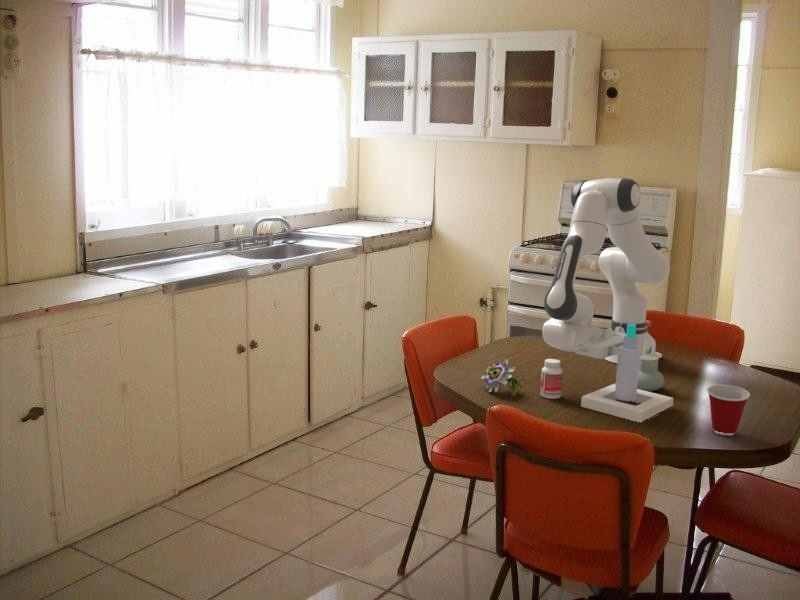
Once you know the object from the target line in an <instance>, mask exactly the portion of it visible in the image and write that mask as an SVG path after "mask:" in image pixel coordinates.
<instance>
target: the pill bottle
mask: <svg viewBox="0 0 800 600" xmlns="http://www.w3.org/2000/svg"><path fill="white" fill-rule="evenodd" d="M561 365H562V364H561V360H559V359H556V358H547V359H544V367H542V368H541V374H540V376H541V377H540V396H541V397H543V398H545V399H550V400H551V399H552V400H555V399H559V398H561V396H562V387H563V386H562V385H563V368H561Z"/></svg>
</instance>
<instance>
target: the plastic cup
mask: <svg viewBox="0 0 800 600" xmlns="http://www.w3.org/2000/svg"><path fill="white" fill-rule="evenodd" d="M706 391H707V393H708V398H709V406H710V417H711V418H710V419H711V426H712V427H711V428H713V429H714V430H715V431H718V432H723V433H735V432H736V431H738V428H739V424H740V422H741V418H742V415H743V412H744V410H745V406H746V404H747V401H748V399H749V398H750V396H751V394H750V391H749V390H746V389H745V388H742V387H739V386H737V385H730V384H722V383H721V384H713V385H709V386H707V389H706ZM713 429H712V430H713ZM736 433H737V432H736Z"/></svg>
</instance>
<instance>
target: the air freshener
mask: <svg viewBox="0 0 800 600" xmlns="http://www.w3.org/2000/svg"><path fill="white" fill-rule="evenodd" d="M658 369H659V359H658V358H657V357H654V356H647V355H644V356H640V362H639V373H638V384H637V389H640V390H644V391H648V392H654V390H655V391H658V390H660V389H661V388H663V387H664V385H665V379H664V375H663V374H662V373H661V372H660V371H659V370H658Z"/></svg>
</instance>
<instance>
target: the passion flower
mask: <svg viewBox="0 0 800 600" xmlns="http://www.w3.org/2000/svg"><path fill="white" fill-rule="evenodd" d="M509 362H510V361H509V359H508V358H507V359H505V360H504V361H500V362H495V363H491V364H490V365H489V366H488V367H487V369H486V371H485V372H484V374H483V375H482V376H480V379H482V380H484V381H485V383H486V387H485V389H489V390H488V392H492V393H493V392H495V393H498V392H499V391H500V390H501V386H502V385H503V386H507V385H508V388H509V390H510V394H511V396H512V397H514V398H516V395H517V389H518V393H522V390H523V389H522V387H523V386H522V384H521V383H520V381H519V380H517V378H518V377H523V379H524V382H525V383H526V382H527V377H526V374H525V373H524V374H519V375H516V376H513V375H512V373H513V372H514V371H515V370H516V367H508V365H509Z"/></svg>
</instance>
